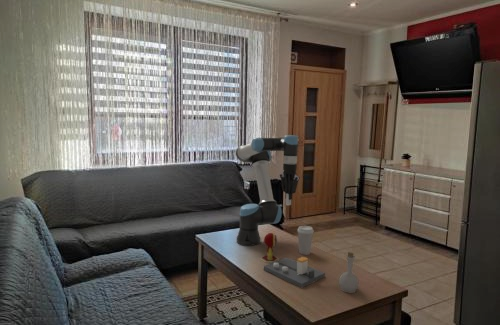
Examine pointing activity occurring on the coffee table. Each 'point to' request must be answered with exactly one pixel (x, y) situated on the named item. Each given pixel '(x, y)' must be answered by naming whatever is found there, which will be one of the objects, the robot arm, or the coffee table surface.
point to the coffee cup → (305, 239)
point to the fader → (302, 265)
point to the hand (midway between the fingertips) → (288, 204)
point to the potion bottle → (349, 277)
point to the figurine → (270, 248)
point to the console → (293, 272)
